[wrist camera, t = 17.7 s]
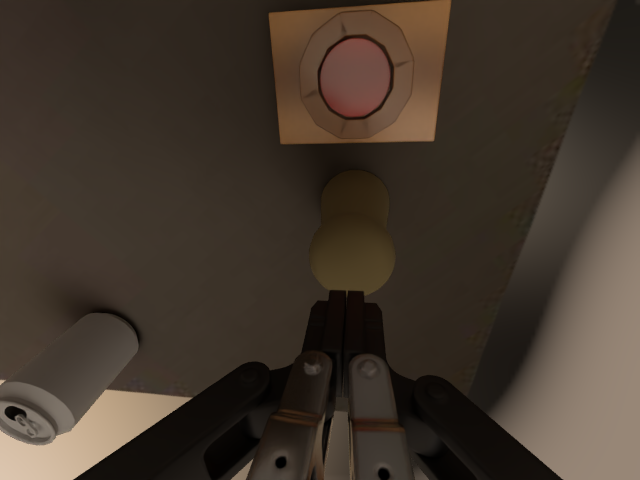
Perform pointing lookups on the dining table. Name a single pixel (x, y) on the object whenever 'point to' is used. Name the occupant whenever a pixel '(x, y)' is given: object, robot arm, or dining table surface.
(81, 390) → the can
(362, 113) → the red button
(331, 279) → the cork
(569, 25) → the dining table surface
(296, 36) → the button box
